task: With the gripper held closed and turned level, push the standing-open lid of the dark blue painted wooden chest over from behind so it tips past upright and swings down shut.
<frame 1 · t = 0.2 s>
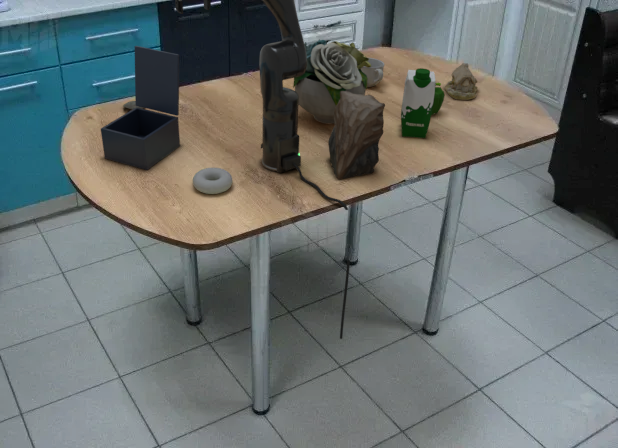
hand: (193, 11, 194), 29 cm above the table, tool pointing down, fingers open, 8 cm apart
teacup: (368, 86, 230), on the table
chest: (143, 152, 183), on the table
ceramic model: (461, 92, 228), on the table
brown rough block: (347, 169, 180), on the table
lid: (156, 81, 180), point 17 cm above the table, hinge at 98.0°
bell pepper: (427, 113, 213), on the table
milk carton: (413, 132, 201), on the table
soupspoon: (139, 119, 200), on the table
donut: (212, 186, 170), on the table
flower arrangement: (328, 118, 206), on the table
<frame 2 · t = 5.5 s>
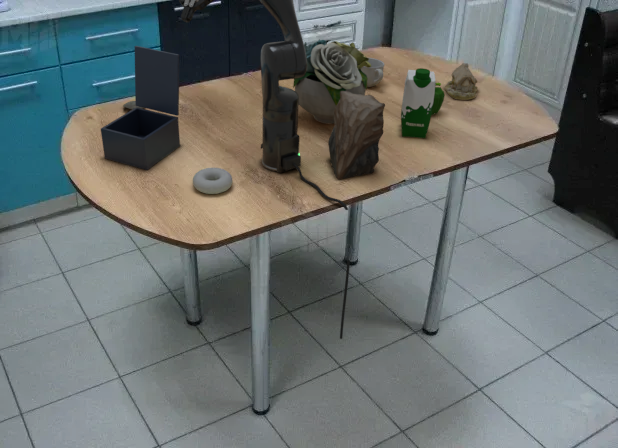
hand: (185, 20, 187), 29 cm above the table, tool tilted 45°, fingers closed
nothing on the table moved.
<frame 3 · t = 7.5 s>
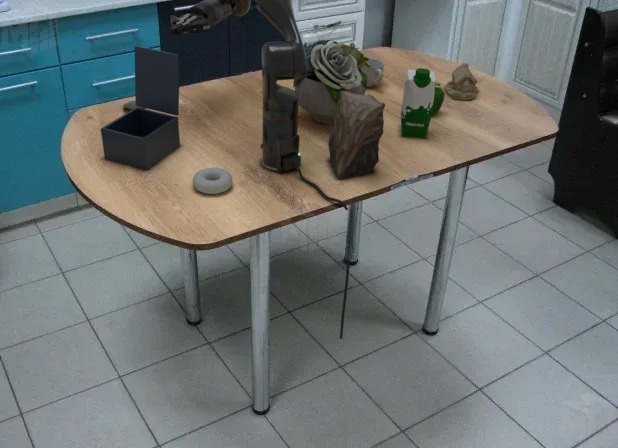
hand: (172, 32, 181), 28 cm above the table, tool horizontal, fingers closed
nothing on the table moved.
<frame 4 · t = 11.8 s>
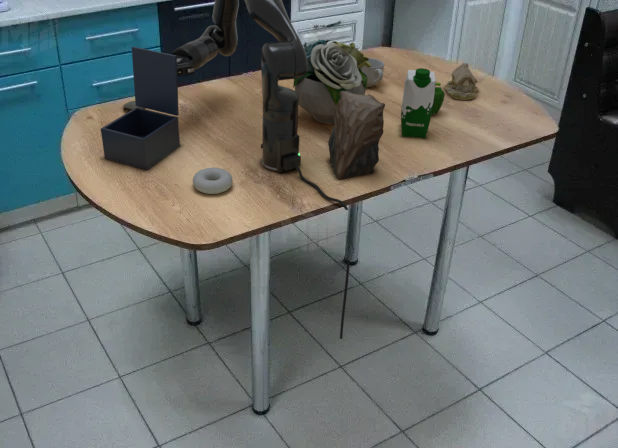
hand: (156, 75, 179), 19 cm above the table, tool horizontal, fingers closed
lid: (155, 81, 180), point 17 cm above the table, hinge at 93.5°, touching gripper
everything else where it was.
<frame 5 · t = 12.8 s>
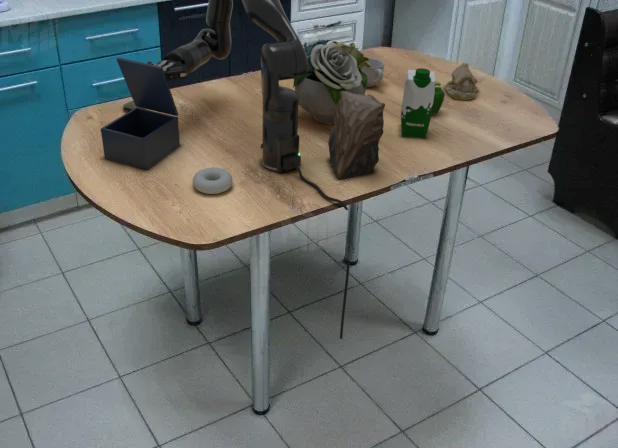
hand: (148, 80, 177), 19 cm above the table, tool horizontal, fingers closed
lid: (148, 87, 177), point 17 cm above the table, hinge at 69.5°
everything else where it was.
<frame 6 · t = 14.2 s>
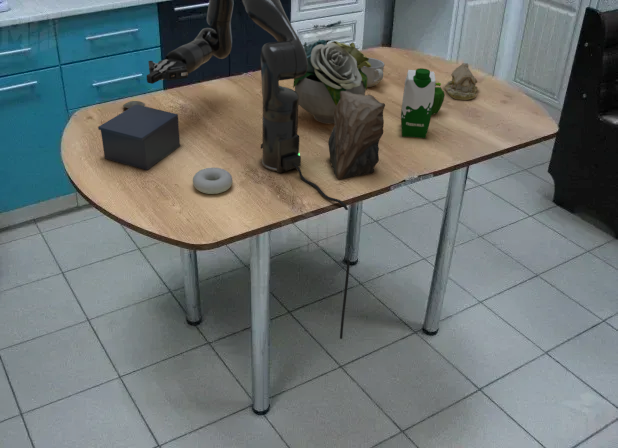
hand: (149, 79, 177), 19 cm above the table, tool horizontal, fingers closed
lid: (139, 121, 178), point 9 cm above the table, hinge at -0.1°
everything else where it was.
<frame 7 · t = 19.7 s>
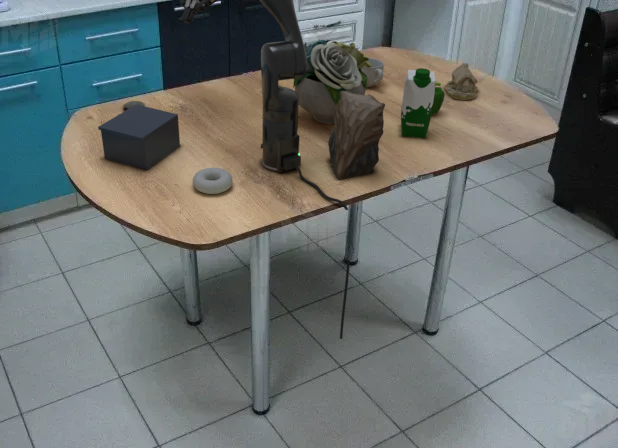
hand: (185, 22, 188), 29 cm above the table, tool tilted 45°, fingers closed
nothing on the table moved.
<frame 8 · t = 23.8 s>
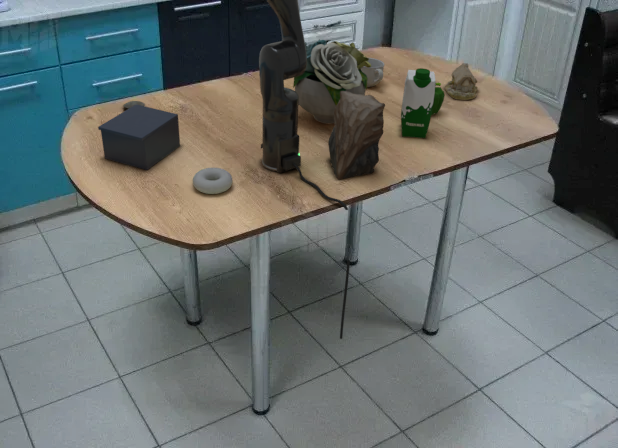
nothing on the table moved.
at the end: lid at +0° (first picture: +98°) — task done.
